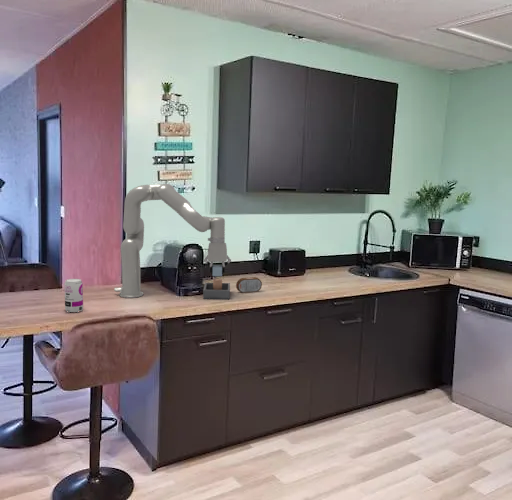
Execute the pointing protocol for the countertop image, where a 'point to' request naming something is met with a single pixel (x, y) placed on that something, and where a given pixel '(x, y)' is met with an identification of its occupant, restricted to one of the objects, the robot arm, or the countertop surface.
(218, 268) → the cube
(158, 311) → the countertop surface
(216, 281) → the cylinder
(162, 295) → the countertop surface
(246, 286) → the tin
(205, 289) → the tote
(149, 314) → the countertop surface
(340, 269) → the countertop surface
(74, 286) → the supplement can
